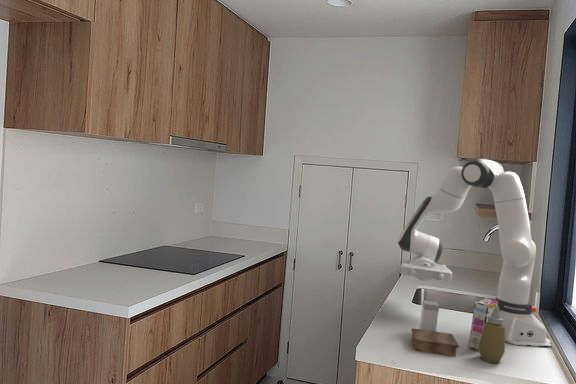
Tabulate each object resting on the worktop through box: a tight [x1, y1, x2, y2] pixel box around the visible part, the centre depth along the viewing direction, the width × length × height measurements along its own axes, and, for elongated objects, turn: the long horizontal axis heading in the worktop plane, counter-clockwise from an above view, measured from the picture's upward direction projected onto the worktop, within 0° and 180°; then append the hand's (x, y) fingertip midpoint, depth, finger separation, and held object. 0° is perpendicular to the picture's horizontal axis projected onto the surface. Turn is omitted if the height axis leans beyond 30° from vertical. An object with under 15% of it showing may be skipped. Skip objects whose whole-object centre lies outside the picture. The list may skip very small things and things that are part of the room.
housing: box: [419, 299, 440, 332], centre depth 193 cm, size 5×5×12 cm
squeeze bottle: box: [479, 306, 506, 364], centre depth 173 cm, size 8×8×18 cm
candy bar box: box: [468, 298, 498, 352], centre depth 186 cm, size 11×5×16 cm, turn 141°
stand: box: [411, 327, 459, 357], centre depth 180 cm, size 14×12×4 cm
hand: (428, 276), depth 204 cm, fingers open, 8 cm apart
